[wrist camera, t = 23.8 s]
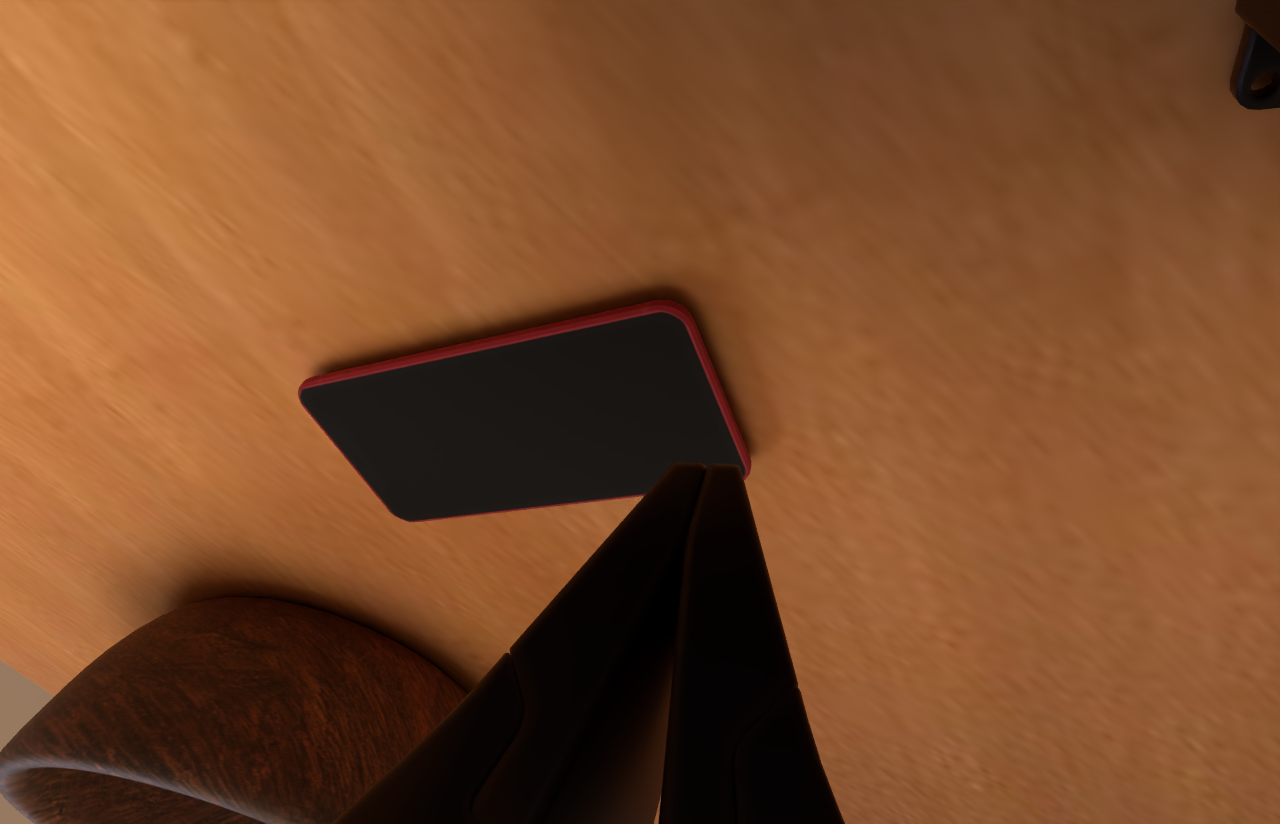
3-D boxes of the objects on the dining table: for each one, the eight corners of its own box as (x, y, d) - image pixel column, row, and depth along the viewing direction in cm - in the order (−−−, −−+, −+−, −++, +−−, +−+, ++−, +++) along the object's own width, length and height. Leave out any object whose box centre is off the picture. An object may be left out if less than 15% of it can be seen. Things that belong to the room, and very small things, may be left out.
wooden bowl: (379, 537, 35) (245, 766, 27) (607, 798, 49) (559, 995, 41) (46, 575, 45) (-118, 749, 37) (313, 781, 59) (232, 938, 51)
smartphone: (757, 484, 26) (399, 525, 32) (759, 465, 26) (408, 509, 32) (681, 301, 22) (285, 388, 28) (687, 284, 22) (299, 372, 28)
